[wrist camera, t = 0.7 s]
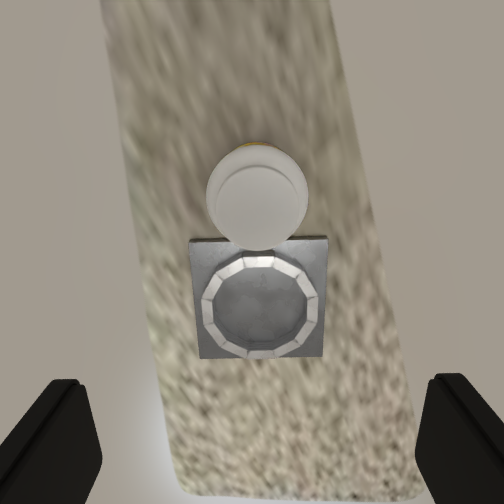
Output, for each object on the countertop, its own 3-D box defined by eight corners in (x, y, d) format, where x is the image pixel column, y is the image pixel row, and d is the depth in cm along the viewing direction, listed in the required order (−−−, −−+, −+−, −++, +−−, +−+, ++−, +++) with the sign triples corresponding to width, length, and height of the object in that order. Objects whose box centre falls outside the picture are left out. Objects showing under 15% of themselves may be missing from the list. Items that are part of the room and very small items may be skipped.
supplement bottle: (308, 185, 30) (343, 221, 18) (251, 229, 32) (249, 290, 20) (262, 123, 29) (268, 119, 17) (204, 173, 30) (171, 202, 18)
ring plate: (190, 239, 32) (185, 248, 30) (326, 236, 32) (331, 244, 30) (201, 353, 37) (197, 368, 34) (320, 350, 36) (325, 365, 34)
